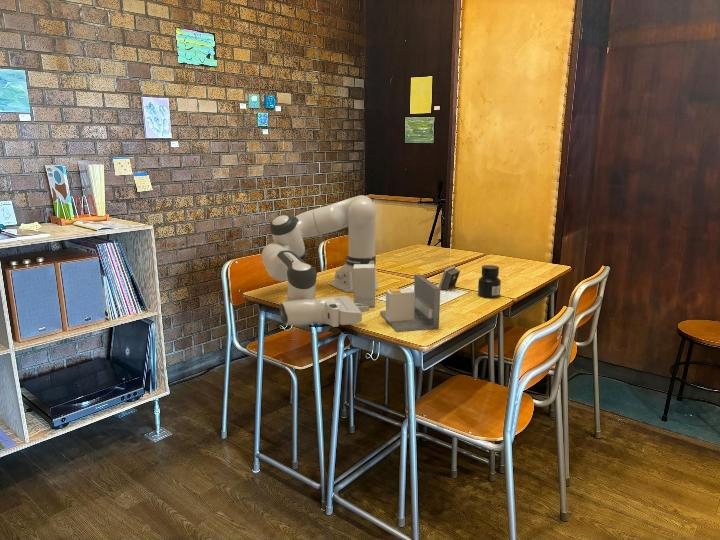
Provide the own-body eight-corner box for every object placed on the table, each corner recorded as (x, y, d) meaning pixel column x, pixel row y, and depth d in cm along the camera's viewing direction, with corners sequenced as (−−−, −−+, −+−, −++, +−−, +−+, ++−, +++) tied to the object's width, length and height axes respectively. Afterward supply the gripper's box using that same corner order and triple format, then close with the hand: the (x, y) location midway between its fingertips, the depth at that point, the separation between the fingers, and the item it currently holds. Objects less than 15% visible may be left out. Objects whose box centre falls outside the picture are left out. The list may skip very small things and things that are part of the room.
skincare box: (375, 302, 215) (375, 263, 212) (375, 307, 209) (375, 267, 205) (353, 302, 216) (353, 263, 212) (353, 307, 209) (353, 267, 205)
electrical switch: (447, 285, 241) (450, 264, 238) (458, 288, 238) (461, 267, 235) (437, 289, 233) (440, 269, 231) (448, 293, 231) (451, 271, 228)
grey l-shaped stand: (396, 331, 183) (397, 291, 179) (380, 313, 202) (380, 276, 198) (438, 328, 186) (440, 288, 183) (418, 310, 205) (419, 274, 202)
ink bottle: (498, 299, 219) (500, 270, 216) (476, 297, 222) (477, 268, 219) (501, 293, 228) (503, 265, 225) (479, 291, 231) (481, 263, 228)
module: (389, 321, 190) (389, 292, 187) (385, 317, 194) (386, 288, 191) (414, 319, 192) (414, 290, 189) (409, 315, 196) (410, 287, 194)
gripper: (323, 310, 196) (360, 307, 200) (334, 328, 177) (376, 325, 180) (323, 293, 195) (360, 290, 198) (334, 310, 176) (376, 307, 179)
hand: (368, 307), depth 189 cm, fingers closed
